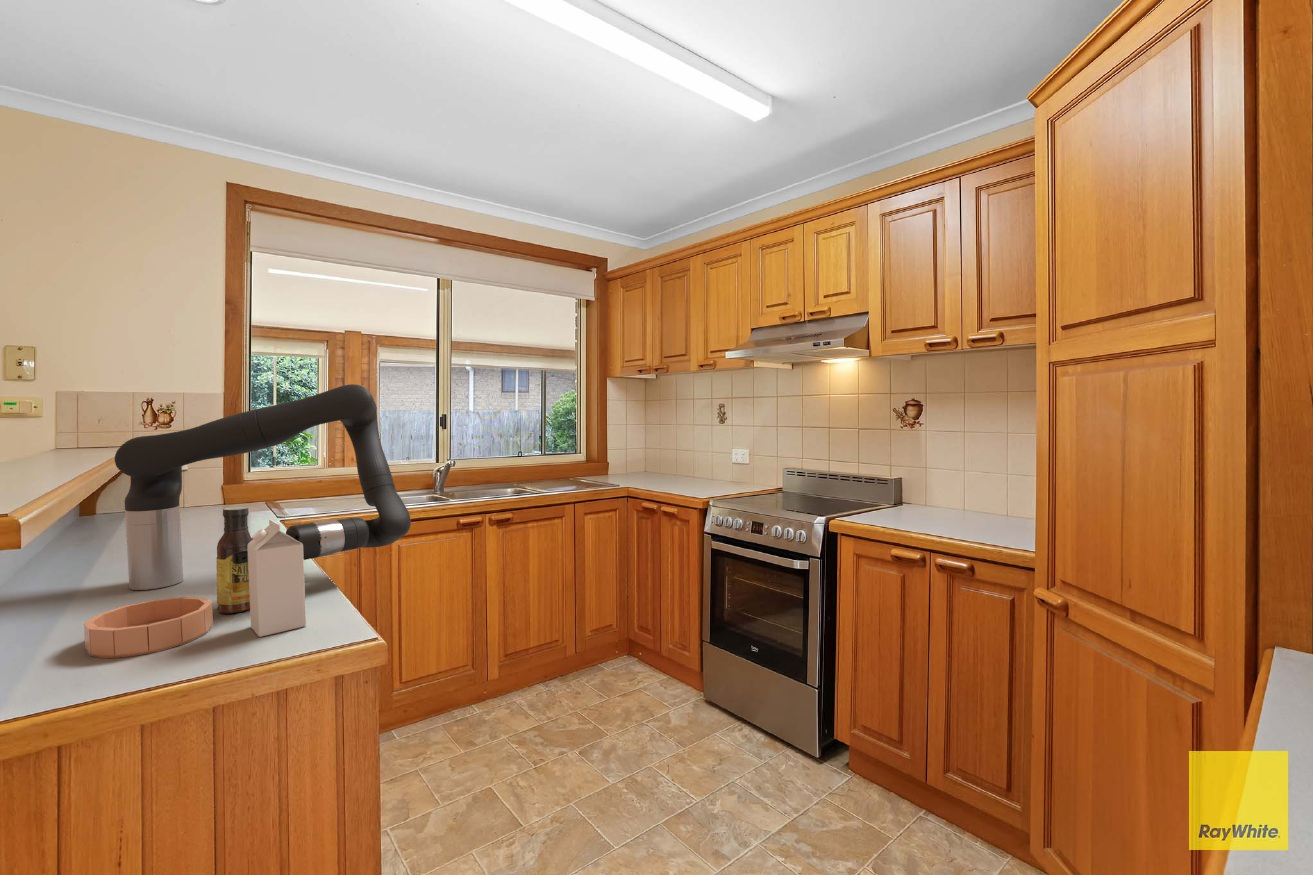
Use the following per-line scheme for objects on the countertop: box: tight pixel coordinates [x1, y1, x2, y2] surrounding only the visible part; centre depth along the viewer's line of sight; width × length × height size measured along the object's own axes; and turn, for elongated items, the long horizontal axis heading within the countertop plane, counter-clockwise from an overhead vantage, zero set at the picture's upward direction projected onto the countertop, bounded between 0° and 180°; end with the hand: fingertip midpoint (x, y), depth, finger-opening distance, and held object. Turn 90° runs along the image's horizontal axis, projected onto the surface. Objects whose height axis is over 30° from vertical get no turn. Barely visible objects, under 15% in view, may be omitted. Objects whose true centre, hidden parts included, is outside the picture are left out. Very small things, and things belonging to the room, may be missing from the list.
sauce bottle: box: [216, 506, 252, 615], centre depth 114 cm, size 7×6×20 cm
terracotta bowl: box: [83, 596, 214, 659], centre depth 100 cm, size 16×16×4 cm
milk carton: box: [247, 518, 307, 638], centre depth 104 cm, size 7×7×19 cm
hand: (225, 555), depth 112 cm, fingers open, 8 cm apart
